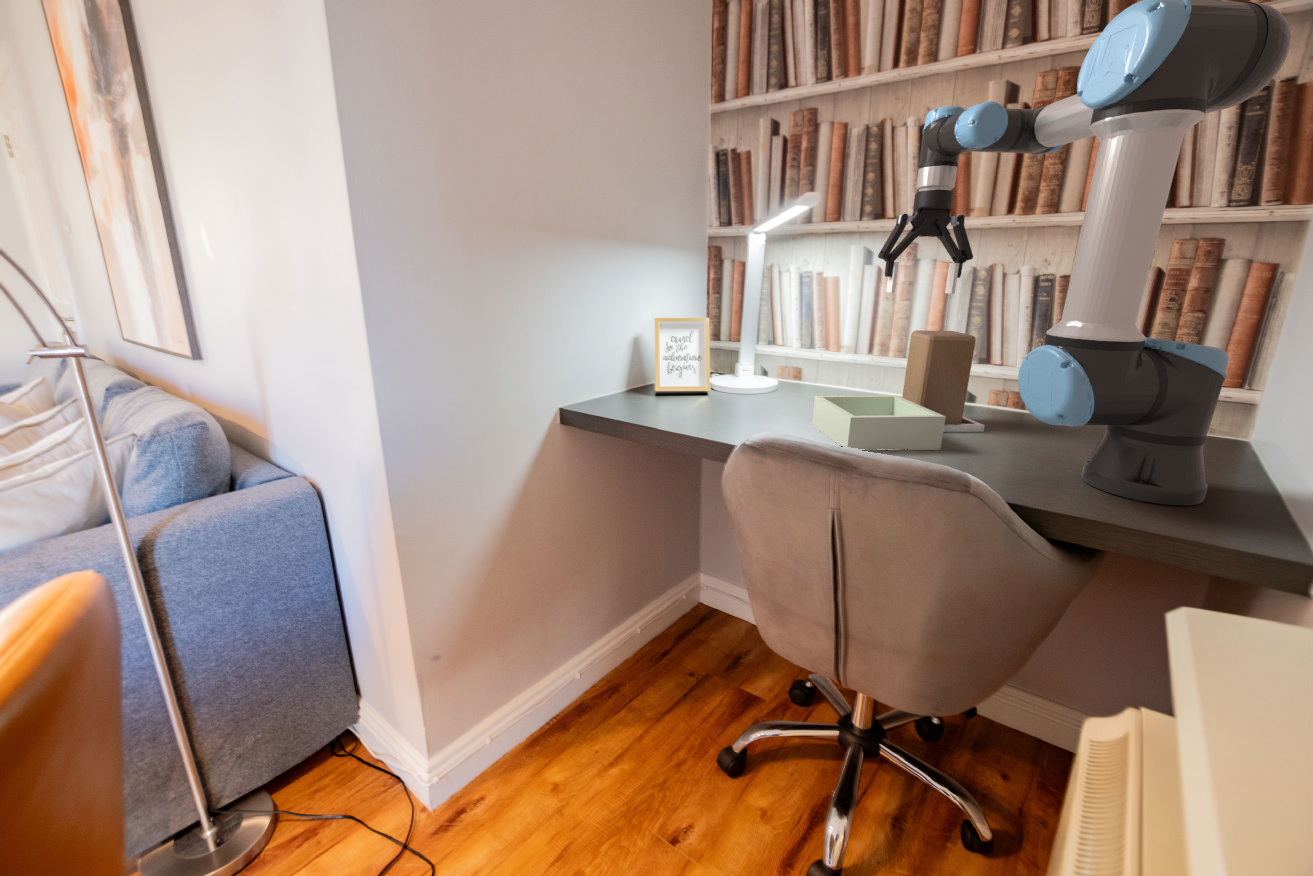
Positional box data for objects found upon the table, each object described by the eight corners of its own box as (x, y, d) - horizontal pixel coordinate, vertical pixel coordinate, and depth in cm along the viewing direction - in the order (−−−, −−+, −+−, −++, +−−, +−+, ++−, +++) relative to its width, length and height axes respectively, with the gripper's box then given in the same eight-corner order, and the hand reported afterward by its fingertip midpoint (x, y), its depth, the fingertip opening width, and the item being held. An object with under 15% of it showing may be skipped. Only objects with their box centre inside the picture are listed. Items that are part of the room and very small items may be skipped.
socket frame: (983, 432, 121) (984, 425, 120) (914, 432, 119) (915, 425, 119) (941, 414, 136) (942, 408, 135) (879, 414, 134) (880, 408, 134)
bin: (940, 449, 108) (945, 416, 107) (846, 451, 107) (850, 417, 105) (892, 424, 126) (896, 395, 124) (812, 425, 124) (814, 395, 122)
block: (962, 429, 123) (978, 335, 117) (915, 428, 123) (929, 334, 117) (941, 417, 132) (955, 330, 127) (897, 417, 132) (909, 329, 127)
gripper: (981, 193, 126) (964, 292, 132) (870, 191, 125) (859, 291, 131) (1002, 189, 119) (984, 294, 125) (884, 186, 118) (872, 292, 124)
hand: (920, 293), depth 128 cm, fingers open, 13 cm apart
